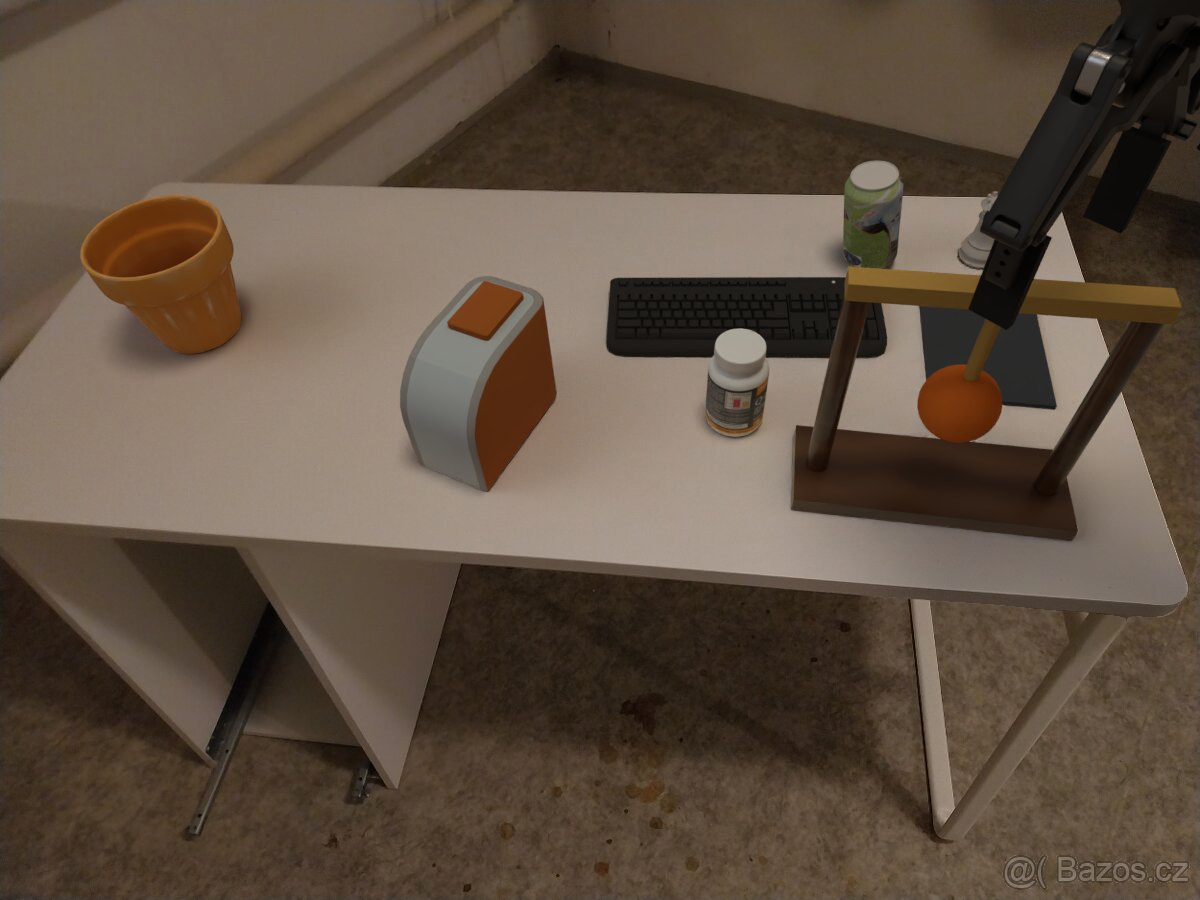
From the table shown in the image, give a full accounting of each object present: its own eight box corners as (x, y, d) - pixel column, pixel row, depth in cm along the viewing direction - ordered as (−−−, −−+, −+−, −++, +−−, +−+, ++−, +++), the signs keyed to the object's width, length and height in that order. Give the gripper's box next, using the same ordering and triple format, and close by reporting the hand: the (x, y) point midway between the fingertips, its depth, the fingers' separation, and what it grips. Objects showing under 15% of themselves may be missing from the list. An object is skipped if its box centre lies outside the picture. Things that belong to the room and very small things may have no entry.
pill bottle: (766, 438, 81) (777, 366, 74) (707, 440, 82) (712, 369, 74) (758, 395, 85) (768, 322, 77) (702, 397, 85) (706, 325, 77)
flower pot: (280, 286, 100) (238, 192, 90) (245, 371, 91) (194, 277, 81) (166, 288, 101) (112, 195, 91) (121, 372, 92) (54, 280, 82)
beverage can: (904, 268, 96) (931, 176, 87) (849, 286, 95) (870, 194, 85) (874, 237, 100) (896, 146, 90) (820, 254, 98) (837, 163, 89)
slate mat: (1055, 409, 82) (1057, 406, 81) (927, 398, 83) (929, 394, 83) (1029, 289, 93) (1030, 285, 92) (917, 281, 94) (918, 278, 94)
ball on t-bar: (1094, 472, 67) (1191, 329, 55) (815, 444, 70) (848, 304, 58) (1080, 413, 71) (1167, 267, 59) (816, 389, 74) (847, 247, 62)
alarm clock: (495, 364, 90) (473, 263, 79) (564, 388, 87) (551, 287, 76) (415, 462, 82) (379, 365, 71) (488, 492, 79) (462, 395, 68)
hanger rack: (1071, 540, 72) (1200, 361, 55) (791, 510, 76) (830, 332, 59) (1055, 460, 78) (1167, 274, 61) (794, 434, 81) (830, 252, 64)
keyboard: (605, 356, 90) (605, 342, 88) (611, 289, 96) (610, 276, 95) (888, 358, 87) (892, 344, 86) (873, 289, 94) (876, 275, 92)
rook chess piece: (994, 246, 98) (1017, 186, 91) (1000, 270, 95) (1024, 211, 89) (954, 244, 98) (974, 185, 92) (959, 269, 95) (980, 209, 89)
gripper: (1256, -185, 45) (1095, 167, 61) (989, -40, 35) (884, 331, 52) (1416, -157, 41) (1199, 210, 57) (1166, 14, 31) (992, 395, 48)
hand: (1049, 268), depth 55 cm, fingers open, 13 cm apart
